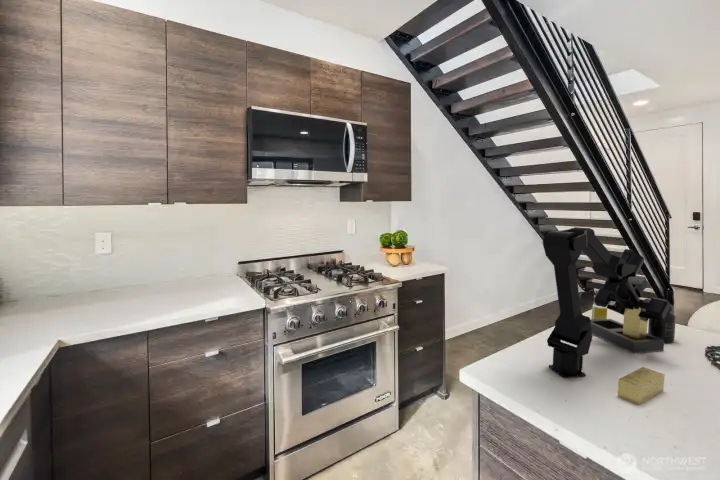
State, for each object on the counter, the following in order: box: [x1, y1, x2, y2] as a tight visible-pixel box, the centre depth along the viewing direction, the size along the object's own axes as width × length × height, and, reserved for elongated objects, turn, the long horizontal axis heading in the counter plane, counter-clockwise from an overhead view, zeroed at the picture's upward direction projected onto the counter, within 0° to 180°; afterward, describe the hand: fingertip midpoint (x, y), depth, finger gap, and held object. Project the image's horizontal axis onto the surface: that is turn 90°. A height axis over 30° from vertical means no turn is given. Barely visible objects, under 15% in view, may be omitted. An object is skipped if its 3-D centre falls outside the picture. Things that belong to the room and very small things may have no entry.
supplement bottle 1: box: [591, 301, 608, 320], centre depth 137 cm, size 5×5×8 cm
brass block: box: [622, 308, 649, 341], centre depth 114 cm, size 6×6×12 cm
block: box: [617, 366, 665, 406], centre depth 87 cm, size 12×4×4 cm, turn 119°
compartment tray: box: [591, 318, 665, 354], centre depth 120 cm, size 10×20×4 cm, turn 8°
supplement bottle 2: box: [647, 304, 677, 344], centre depth 119 cm, size 7×7×12 cm
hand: (637, 318), depth 115 cm, fingers closed on brass block, 5 cm apart
